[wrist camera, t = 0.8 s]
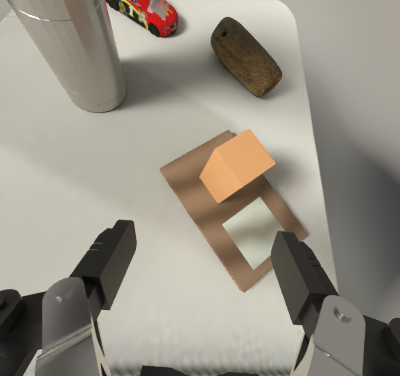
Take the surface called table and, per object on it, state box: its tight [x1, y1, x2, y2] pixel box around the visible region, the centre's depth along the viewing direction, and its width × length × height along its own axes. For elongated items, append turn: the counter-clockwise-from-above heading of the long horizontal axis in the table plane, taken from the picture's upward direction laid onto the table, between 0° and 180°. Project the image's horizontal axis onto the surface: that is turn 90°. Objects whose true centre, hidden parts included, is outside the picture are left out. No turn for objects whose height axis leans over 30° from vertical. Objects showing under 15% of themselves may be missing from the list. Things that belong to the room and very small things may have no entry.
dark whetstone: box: [211, 17, 282, 97], centre depth 37 cm, size 15×7×7 cm, turn 46°
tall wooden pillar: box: [199, 129, 276, 204], centre depth 27 cm, size 5×5×10 cm
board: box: [160, 130, 308, 293], centre depth 28 cm, size 22×14×8 cm, turn 35°
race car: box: [105, 0, 178, 37], centre depth 38 cm, size 16×7×5 cm, turn 58°
